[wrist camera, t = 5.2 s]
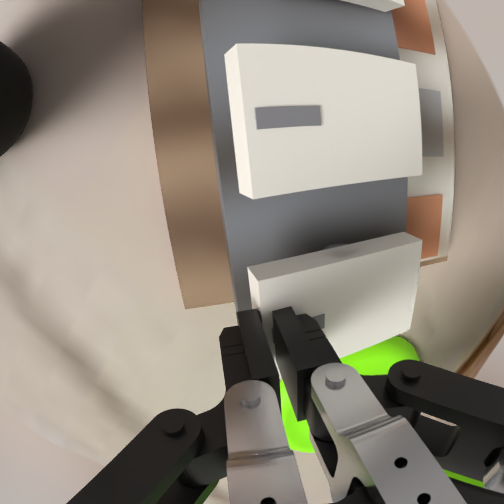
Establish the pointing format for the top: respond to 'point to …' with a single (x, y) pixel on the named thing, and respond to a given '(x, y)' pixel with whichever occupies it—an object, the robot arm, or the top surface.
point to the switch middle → (320, 118)
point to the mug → (13, 97)
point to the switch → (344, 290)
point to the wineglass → (365, 363)
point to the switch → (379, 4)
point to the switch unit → (223, 153)
